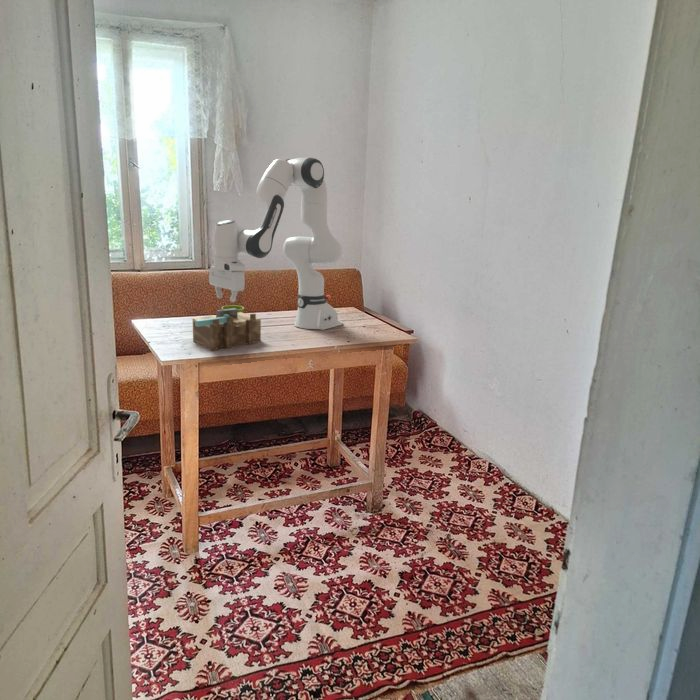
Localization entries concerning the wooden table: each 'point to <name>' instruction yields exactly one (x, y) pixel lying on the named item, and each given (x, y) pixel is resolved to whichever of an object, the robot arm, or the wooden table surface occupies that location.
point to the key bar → (211, 321)
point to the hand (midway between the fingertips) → (226, 299)
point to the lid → (238, 318)
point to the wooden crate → (227, 333)
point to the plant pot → (239, 308)
